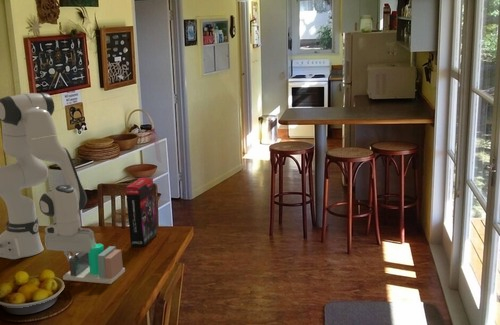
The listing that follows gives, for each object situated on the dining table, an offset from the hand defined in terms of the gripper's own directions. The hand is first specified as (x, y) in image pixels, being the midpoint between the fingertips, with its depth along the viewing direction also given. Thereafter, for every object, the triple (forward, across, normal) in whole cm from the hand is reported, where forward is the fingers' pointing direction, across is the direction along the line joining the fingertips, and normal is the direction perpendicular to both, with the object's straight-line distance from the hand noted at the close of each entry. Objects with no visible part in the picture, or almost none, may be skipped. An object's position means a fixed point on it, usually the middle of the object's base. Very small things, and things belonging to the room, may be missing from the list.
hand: (72, 261), depth 233 cm
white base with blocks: (+5, -9, 0) cm, 10 cm away
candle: (+4, -10, -1) cm, 11 cm away
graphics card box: (+6, -12, -40) cm, 42 cm away
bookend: (+4, -3, 0) cm, 5 cm away
